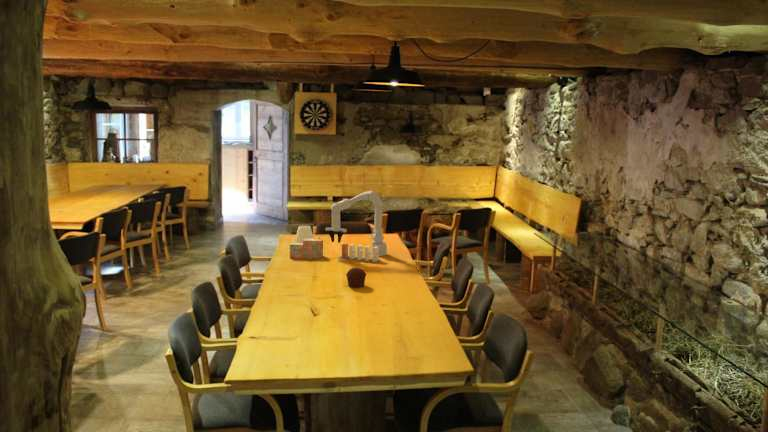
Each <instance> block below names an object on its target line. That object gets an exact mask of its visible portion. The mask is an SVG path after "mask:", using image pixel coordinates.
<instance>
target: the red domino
mask: <svg viewBox="0 0 768 432" xmlns="http://www.w3.org/2000/svg"><path fill="white" fill-rule="evenodd" d="M341 256H342V258H347V257H348V256H349V243H345V242H344V243H343V244H341Z"/></svg>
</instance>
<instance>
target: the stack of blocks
mask: <svg viewBox="0 0 768 432" xmlns="http://www.w3.org/2000/svg"><path fill="white" fill-rule="evenodd" d="M289 258H290V259H309V260H310V259H312V260H313V259H315V260H318V259H321V258H324V239H323V238H314V239H304V240H303V243H296V242H290V244H289Z"/></svg>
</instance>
